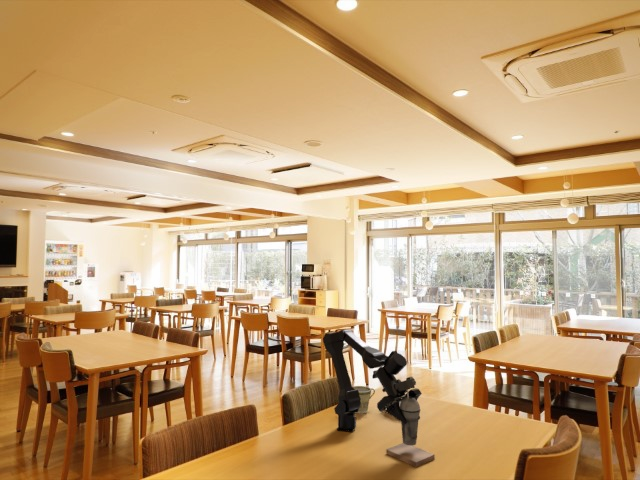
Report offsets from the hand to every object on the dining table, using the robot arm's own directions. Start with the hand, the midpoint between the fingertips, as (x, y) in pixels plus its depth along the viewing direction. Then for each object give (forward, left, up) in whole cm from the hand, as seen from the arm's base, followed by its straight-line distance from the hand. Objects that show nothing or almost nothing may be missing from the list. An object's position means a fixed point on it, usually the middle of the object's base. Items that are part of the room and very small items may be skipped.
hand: (412, 421), depth 149 cm
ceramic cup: (-26, +43, -12) cm, 51 cm away
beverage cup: (-1, +1, -8) cm, 8 cm away
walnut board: (-1, +1, -12) cm, 12 cm away
